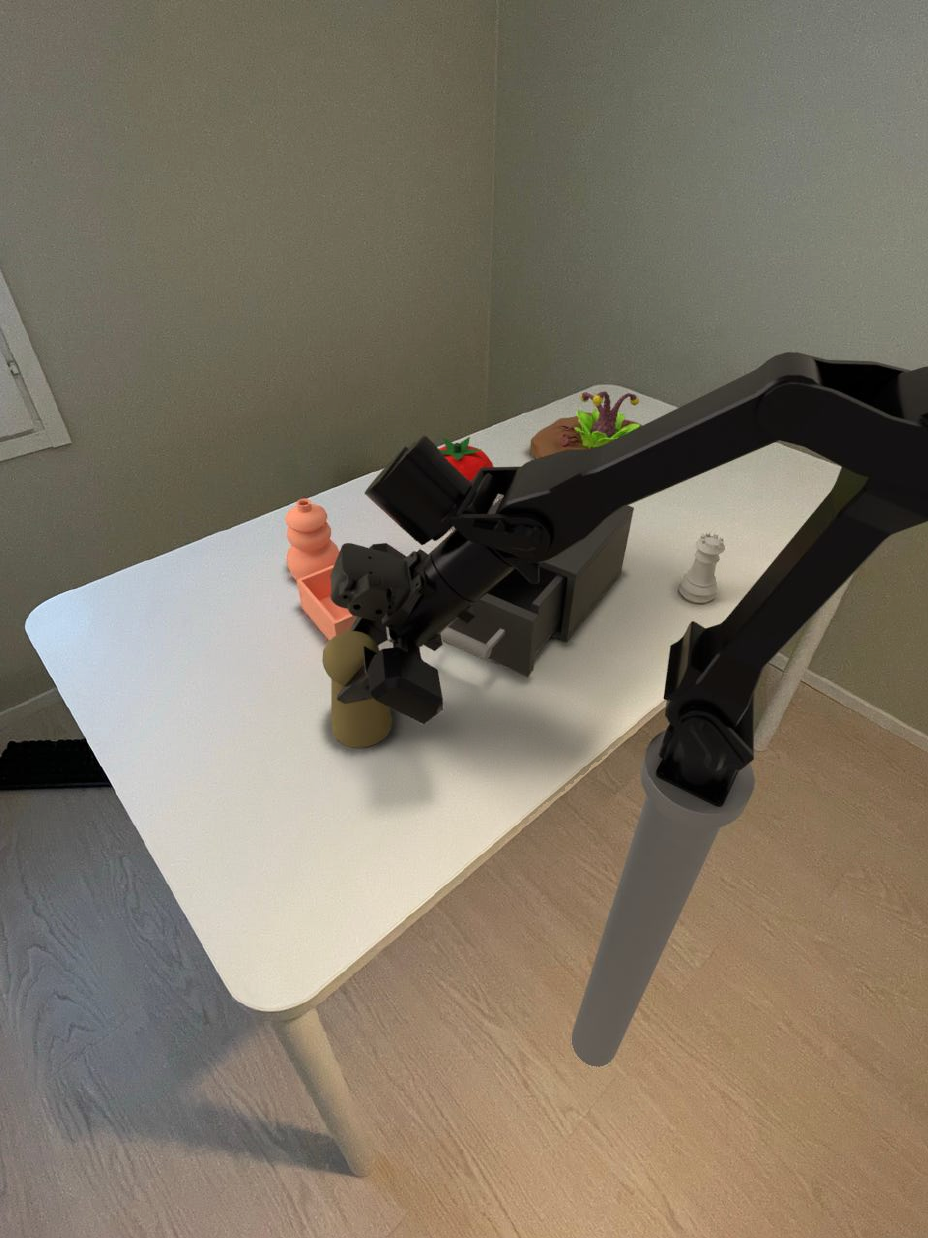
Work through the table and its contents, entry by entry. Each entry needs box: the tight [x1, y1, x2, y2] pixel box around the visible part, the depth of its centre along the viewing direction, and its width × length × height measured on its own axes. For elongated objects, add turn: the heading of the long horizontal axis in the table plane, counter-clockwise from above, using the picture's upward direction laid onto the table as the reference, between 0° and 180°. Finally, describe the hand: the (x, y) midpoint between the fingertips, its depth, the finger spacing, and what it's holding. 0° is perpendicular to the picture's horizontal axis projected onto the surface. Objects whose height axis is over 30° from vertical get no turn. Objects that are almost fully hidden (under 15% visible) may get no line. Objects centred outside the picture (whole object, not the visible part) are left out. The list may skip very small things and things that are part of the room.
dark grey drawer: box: [440, 567, 568, 678], centre depth 76 cm, size 18×13×8 cm
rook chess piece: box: [678, 532, 726, 604], centre depth 82 cm, size 4×4×8 cm
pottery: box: [284, 498, 357, 642], centre depth 81 cm, size 18×10×10 cm, turn 36°
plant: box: [529, 391, 644, 460], centre depth 105 cm, size 20×20×11 cm
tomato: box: [438, 436, 494, 482], centre depth 95 cm, size 10×10×10 cm
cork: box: [321, 631, 393, 749], centre depth 66 cm, size 6×6×11 cm
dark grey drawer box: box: [488, 496, 635, 643], centre depth 83 cm, size 15×14×10 cm
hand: (339, 679), depth 65 cm, fingers closed on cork, 5 cm apart
